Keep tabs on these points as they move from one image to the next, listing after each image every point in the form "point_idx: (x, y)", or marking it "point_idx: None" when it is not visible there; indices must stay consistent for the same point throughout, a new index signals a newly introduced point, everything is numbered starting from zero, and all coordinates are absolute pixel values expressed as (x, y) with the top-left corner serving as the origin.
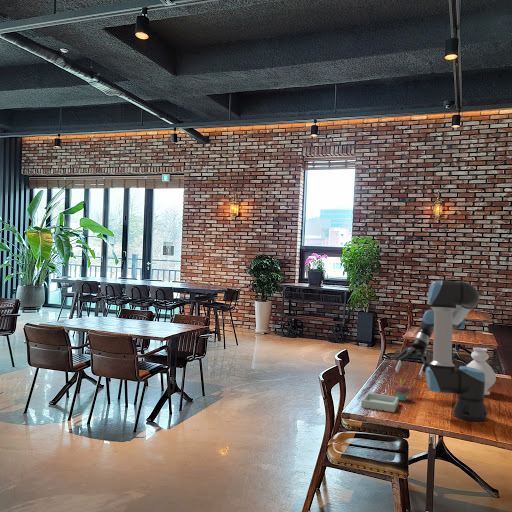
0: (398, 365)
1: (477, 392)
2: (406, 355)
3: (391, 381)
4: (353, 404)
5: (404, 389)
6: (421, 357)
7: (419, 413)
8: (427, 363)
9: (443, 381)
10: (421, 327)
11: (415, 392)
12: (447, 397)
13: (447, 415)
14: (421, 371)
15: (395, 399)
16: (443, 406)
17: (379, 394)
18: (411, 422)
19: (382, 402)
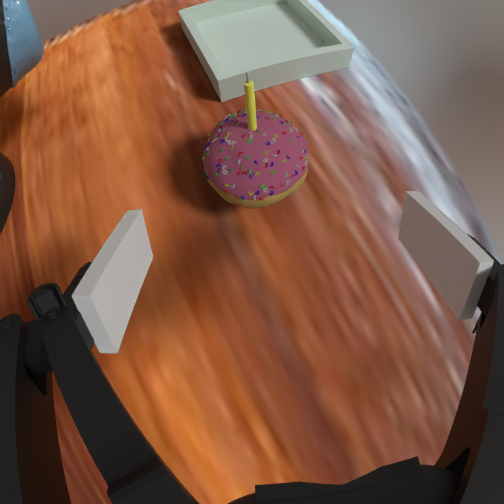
0: (435, 227)
1: None
2: (493, 363)
3: None
4: (323, 9)
5: (221, 125)
6: (121, 429)
7: (109, 81)
8: (33, 341)
9: None
10: None
11: (282, 402)
12: None
13: (29, 147)
14: (114, 234)
15: (209, 49)
16: (55, 249)
17: (304, 56)
18: (111, 19)
19: (262, 49)
